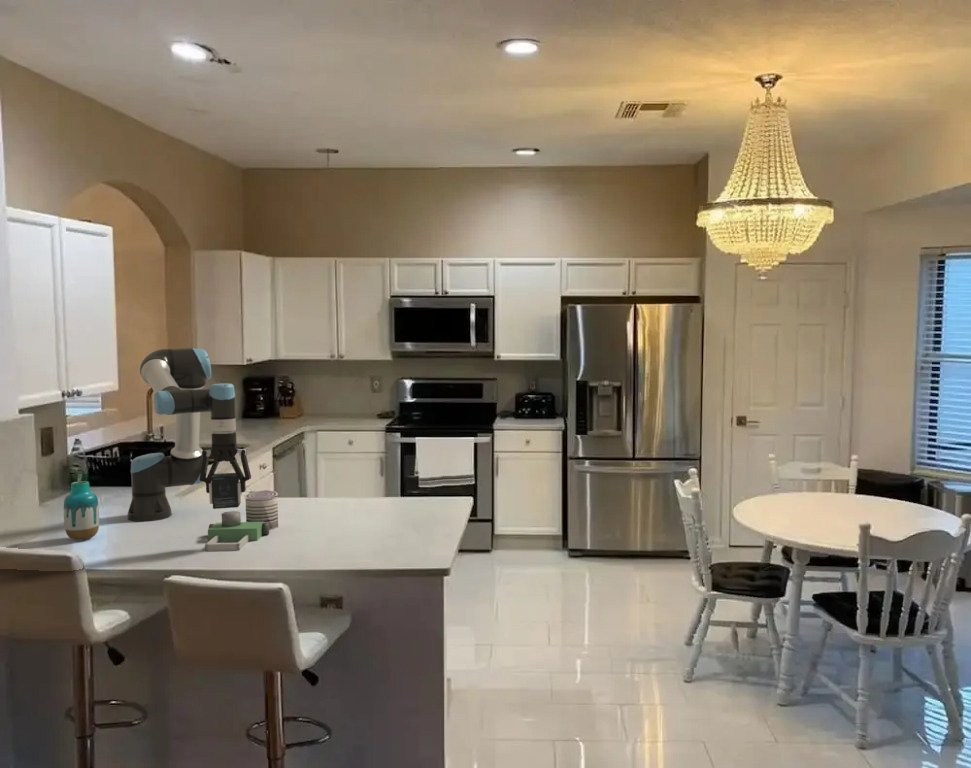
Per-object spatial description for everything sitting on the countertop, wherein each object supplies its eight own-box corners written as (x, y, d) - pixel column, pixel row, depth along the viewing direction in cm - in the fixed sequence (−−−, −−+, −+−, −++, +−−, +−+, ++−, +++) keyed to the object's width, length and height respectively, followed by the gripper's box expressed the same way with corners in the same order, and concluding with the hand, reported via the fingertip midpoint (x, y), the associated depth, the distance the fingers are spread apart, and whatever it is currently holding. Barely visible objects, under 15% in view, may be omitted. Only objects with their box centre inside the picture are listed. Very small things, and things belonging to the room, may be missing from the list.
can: (285, 524, 297) (284, 491, 296) (267, 532, 286) (265, 497, 285) (257, 522, 300) (256, 489, 300) (238, 530, 290) (237, 495, 289)
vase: (77, 544, 273) (74, 486, 272) (58, 540, 279) (55, 483, 277) (106, 537, 282) (104, 481, 281) (88, 534, 288) (85, 478, 286)
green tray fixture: (191, 551, 262) (190, 525, 262) (212, 534, 284) (211, 511, 283) (253, 549, 262) (252, 524, 262) (269, 533, 284) (269, 509, 284)
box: (240, 504, 271) (239, 472, 270) (238, 507, 266) (237, 474, 265) (215, 505, 270) (213, 473, 269) (212, 509, 264) (211, 476, 264)
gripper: (186, 434, 262) (189, 505, 264) (254, 432, 263) (256, 504, 264) (194, 431, 270) (196, 501, 271) (260, 430, 270) (262, 499, 272)
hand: (226, 502), depth 268 cm, fingers closed on box, 8 cm apart
